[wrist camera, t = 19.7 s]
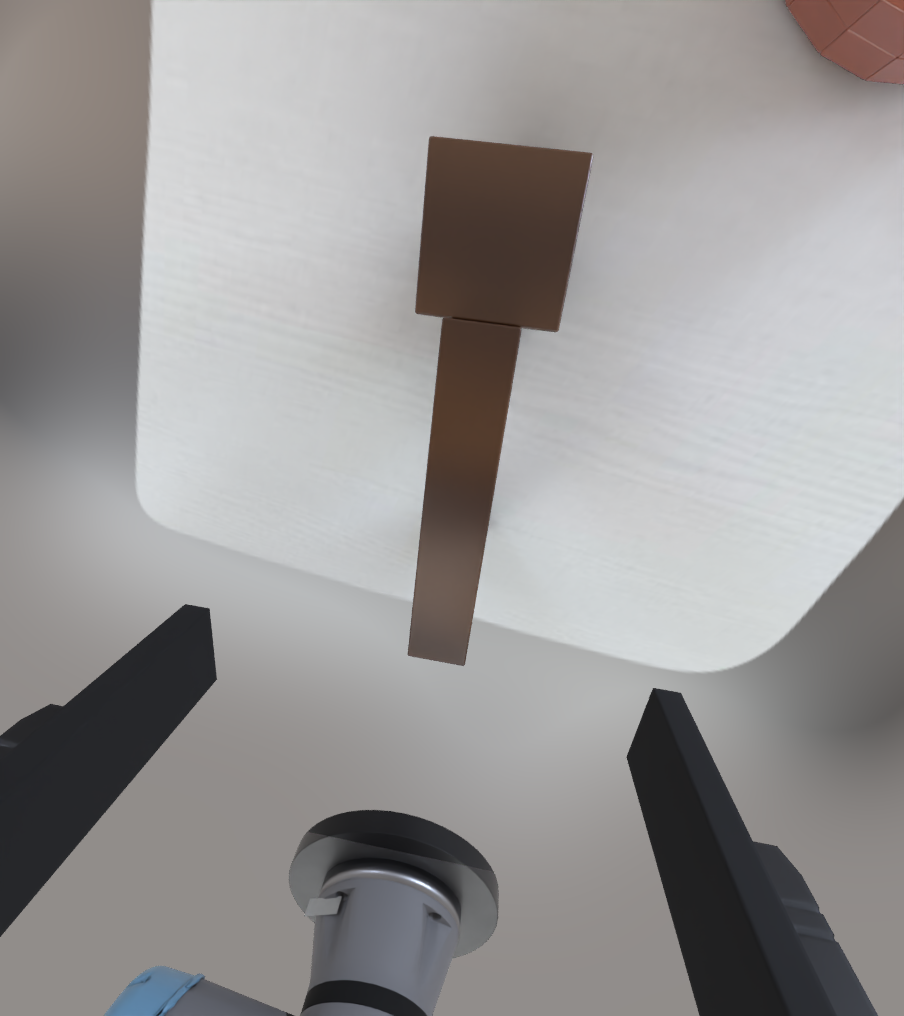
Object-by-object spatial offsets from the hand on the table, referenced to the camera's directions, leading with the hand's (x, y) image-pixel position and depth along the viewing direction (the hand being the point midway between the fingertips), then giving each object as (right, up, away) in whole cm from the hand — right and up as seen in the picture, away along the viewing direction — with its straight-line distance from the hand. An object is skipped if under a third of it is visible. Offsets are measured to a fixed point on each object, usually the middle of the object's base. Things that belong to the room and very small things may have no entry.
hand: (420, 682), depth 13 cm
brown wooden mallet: (+3, +12, +13) cm, 18 cm away
